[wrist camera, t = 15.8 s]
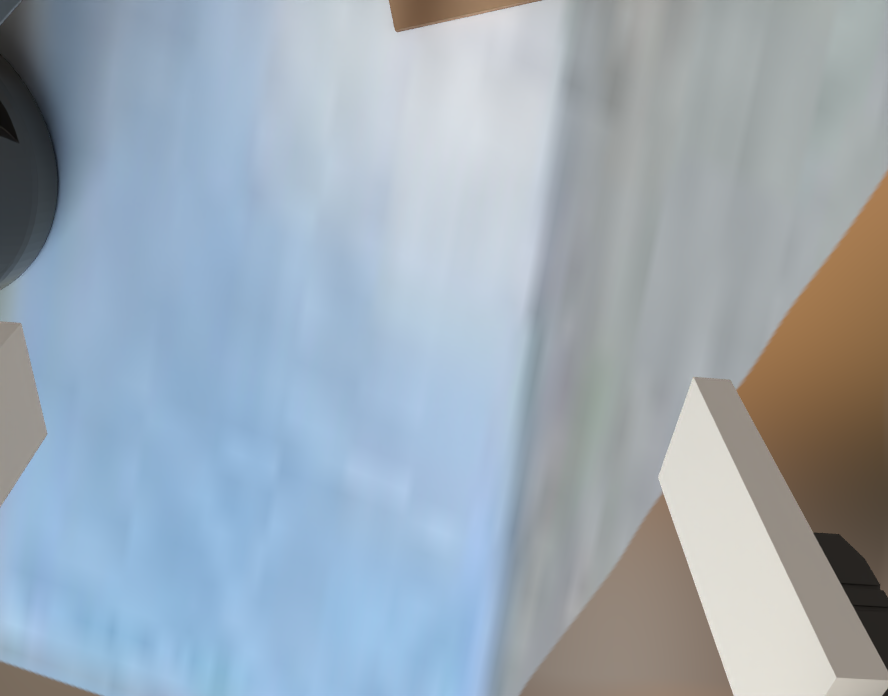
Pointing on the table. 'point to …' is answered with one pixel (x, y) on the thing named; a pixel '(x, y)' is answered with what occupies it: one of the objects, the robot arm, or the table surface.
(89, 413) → the table surface
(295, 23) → the table surface
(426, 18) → the tray
